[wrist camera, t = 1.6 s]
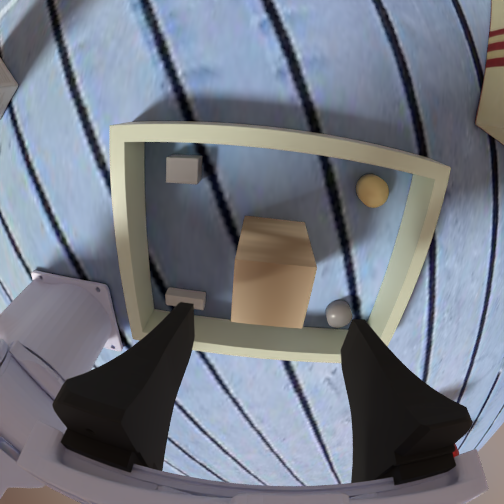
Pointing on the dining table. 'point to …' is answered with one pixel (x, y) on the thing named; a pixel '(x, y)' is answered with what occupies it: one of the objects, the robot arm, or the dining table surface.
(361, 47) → the dining table surface
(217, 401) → the dining table surface
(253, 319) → the maple block
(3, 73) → the skincare box
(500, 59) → the gift box
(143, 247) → the rectangular frame
